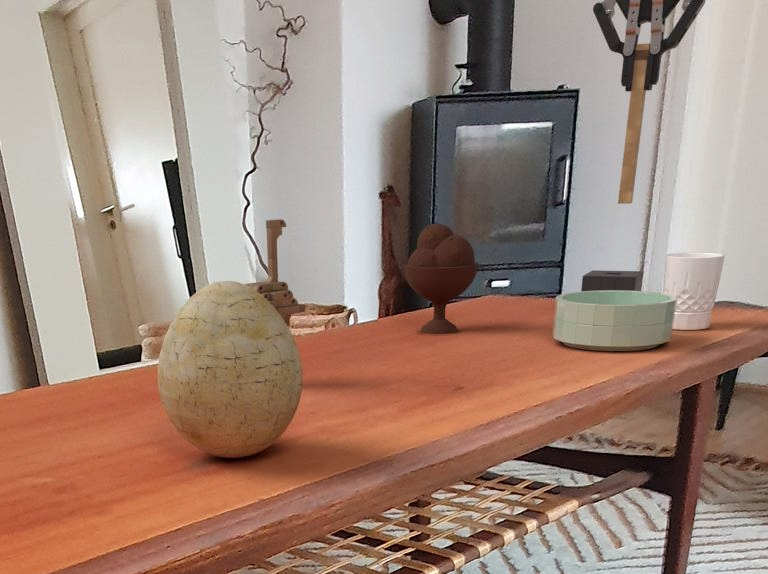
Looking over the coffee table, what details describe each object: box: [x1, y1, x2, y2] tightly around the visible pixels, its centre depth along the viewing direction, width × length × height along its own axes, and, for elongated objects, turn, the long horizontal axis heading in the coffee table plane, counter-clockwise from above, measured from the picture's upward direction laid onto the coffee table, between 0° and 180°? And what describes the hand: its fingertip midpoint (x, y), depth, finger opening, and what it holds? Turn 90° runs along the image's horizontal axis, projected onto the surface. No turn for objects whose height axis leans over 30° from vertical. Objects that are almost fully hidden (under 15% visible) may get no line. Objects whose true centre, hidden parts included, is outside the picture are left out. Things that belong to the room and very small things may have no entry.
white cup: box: [662, 251, 726, 331], centre depth 141 cm, size 8×8×10 cm
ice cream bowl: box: [403, 222, 480, 334], centre depth 144 cm, size 11×11×15 cm
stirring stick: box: [617, 43, 650, 205], centre depth 124 cm, size 2×2×18 cm
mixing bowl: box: [551, 290, 678, 352], centre depth 132 cm, size 16×16×6 cm
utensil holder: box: [580, 270, 644, 291], centre depth 158 cm, size 8×8×6 cm
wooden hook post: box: [244, 218, 306, 327], centre depth 109 cm, size 17×7×18 cm, turn 132°
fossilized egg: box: [156, 280, 304, 459], centre depth 85 cm, size 13×13×15 cm
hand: (638, 90), depth 122 cm, fingers closed on stirring stick, 1 cm apart
